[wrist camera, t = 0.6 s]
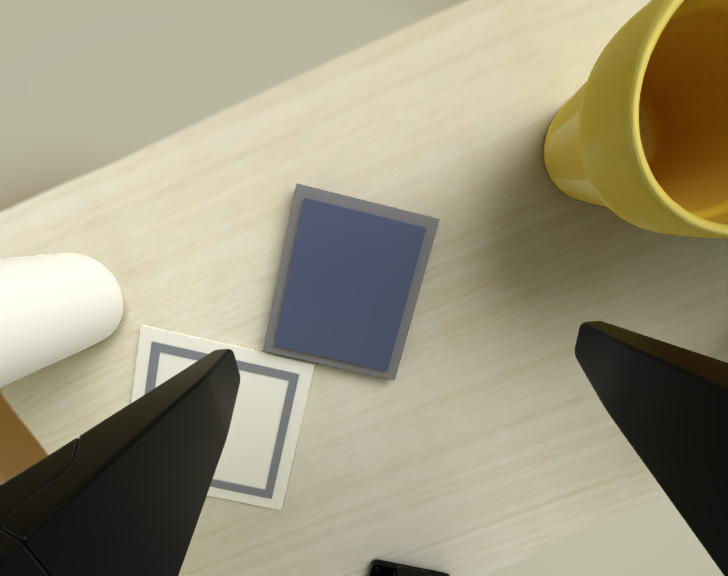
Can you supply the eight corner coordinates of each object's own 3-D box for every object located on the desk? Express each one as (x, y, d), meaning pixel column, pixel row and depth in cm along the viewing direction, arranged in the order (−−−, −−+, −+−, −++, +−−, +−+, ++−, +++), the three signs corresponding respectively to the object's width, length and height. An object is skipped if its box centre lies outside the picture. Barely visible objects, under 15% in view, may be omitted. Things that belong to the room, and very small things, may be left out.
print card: (282, 507, 26) (281, 511, 26) (124, 475, 26) (120, 479, 25) (315, 363, 24) (314, 365, 24) (143, 324, 23) (139, 326, 23)
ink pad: (393, 373, 24) (395, 383, 23) (267, 345, 24) (261, 353, 22) (435, 219, 22) (440, 219, 21) (299, 185, 22) (295, 182, 20)
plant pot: (582, 265, 23) (741, 296, 13) (478, 150, 22) (571, 93, 12) (711, 147, 22) (994, 86, 12) (608, 16, 20) (833, -171, 11)
